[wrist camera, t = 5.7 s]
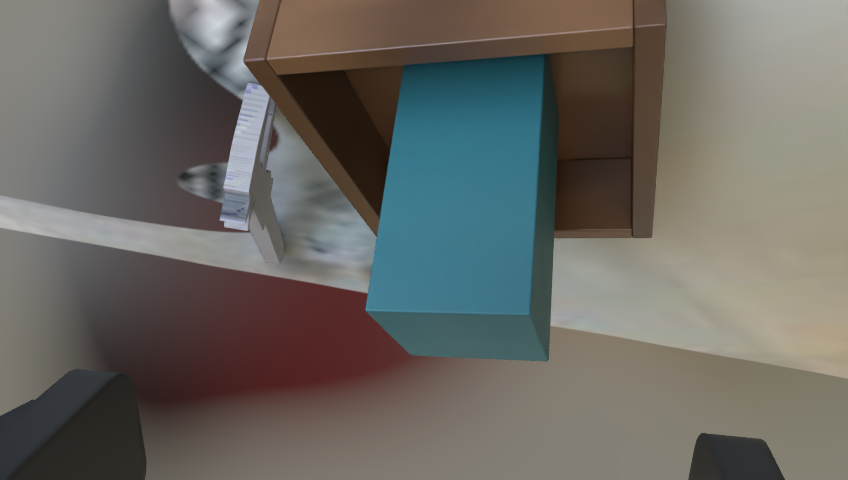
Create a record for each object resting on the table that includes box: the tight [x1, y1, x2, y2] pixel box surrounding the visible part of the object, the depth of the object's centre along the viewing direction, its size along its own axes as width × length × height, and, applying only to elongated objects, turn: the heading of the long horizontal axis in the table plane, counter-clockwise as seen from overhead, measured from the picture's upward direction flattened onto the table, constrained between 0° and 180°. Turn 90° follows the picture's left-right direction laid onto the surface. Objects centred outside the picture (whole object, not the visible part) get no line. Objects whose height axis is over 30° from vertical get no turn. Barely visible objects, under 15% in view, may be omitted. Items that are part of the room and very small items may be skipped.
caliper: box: [220, 82, 284, 265], centre depth 37 cm, size 20×1×6 cm, turn 170°
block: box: [366, 54, 559, 361], centre depth 24 cm, size 5×5×10 cm
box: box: [243, 0, 667, 238], centre depth 26 cm, size 12×13×4 cm
